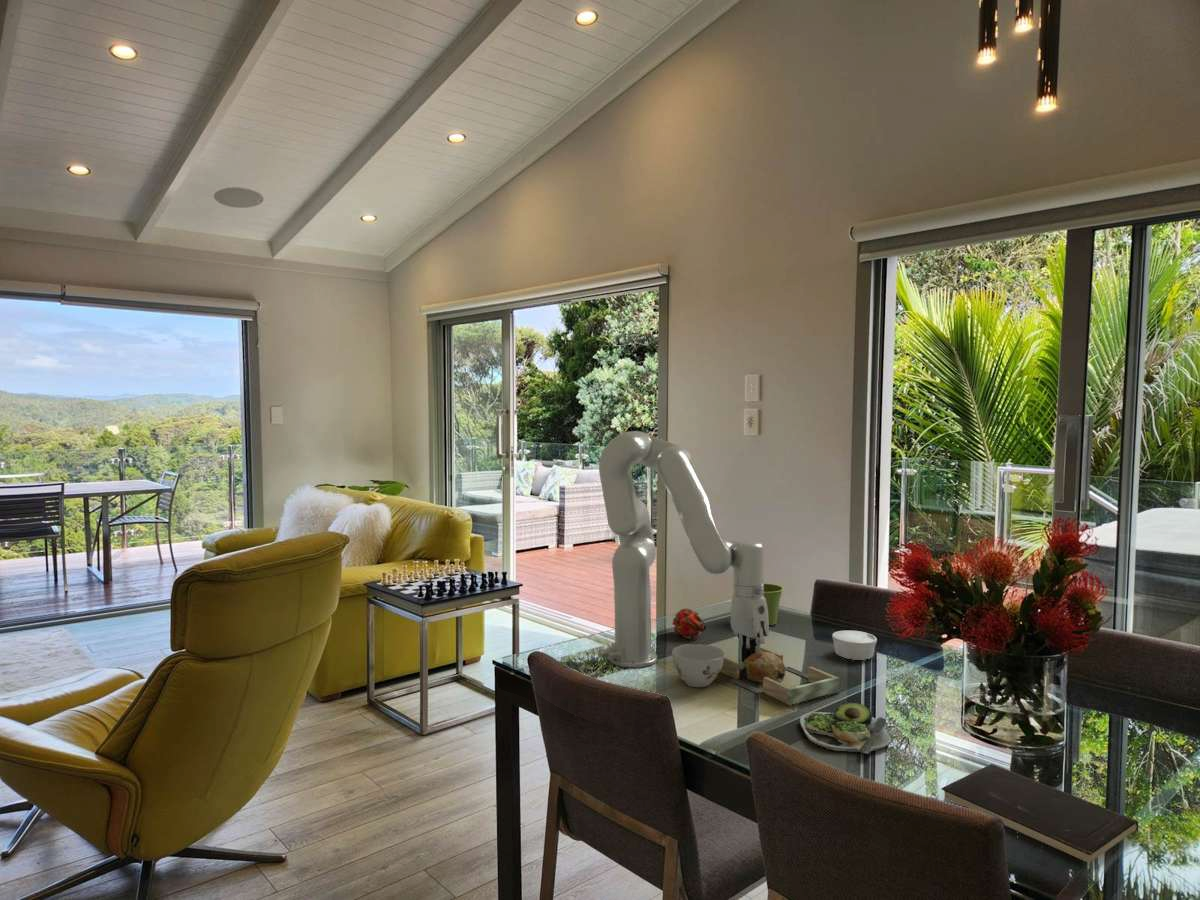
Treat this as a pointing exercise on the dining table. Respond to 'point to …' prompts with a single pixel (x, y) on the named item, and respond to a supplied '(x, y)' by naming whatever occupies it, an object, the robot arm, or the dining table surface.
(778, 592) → the plant pot
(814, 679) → the beige shallow tray
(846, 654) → the ramekin
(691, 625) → the dragon fruit
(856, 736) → the avocado toast plate
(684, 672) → the teacup
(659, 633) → the dining table surface
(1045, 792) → the hardcover book
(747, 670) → the bread roll
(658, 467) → the robot arm
